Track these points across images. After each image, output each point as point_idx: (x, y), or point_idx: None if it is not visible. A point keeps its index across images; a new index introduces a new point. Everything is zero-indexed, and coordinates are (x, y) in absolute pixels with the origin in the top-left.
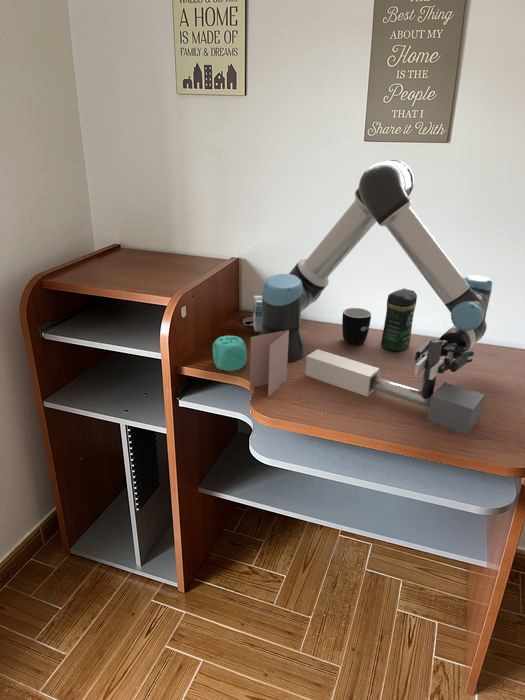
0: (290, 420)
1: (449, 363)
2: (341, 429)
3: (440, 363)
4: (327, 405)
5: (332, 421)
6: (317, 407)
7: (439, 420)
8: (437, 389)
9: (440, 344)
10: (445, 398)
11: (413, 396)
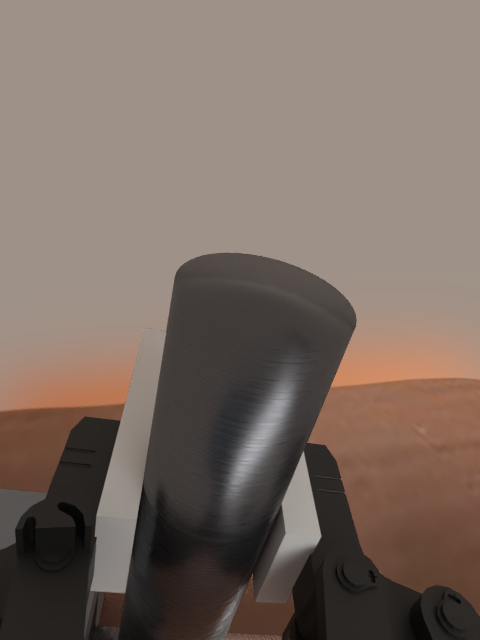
0: (435, 379)
1: (8, 568)
2: (328, 393)
3: (117, 435)
4: (462, 481)
5: (373, 414)
6: (464, 456)
7: None
8: (87, 622)
9: (186, 266)
10: (17, 516)
11: (233, 634)
